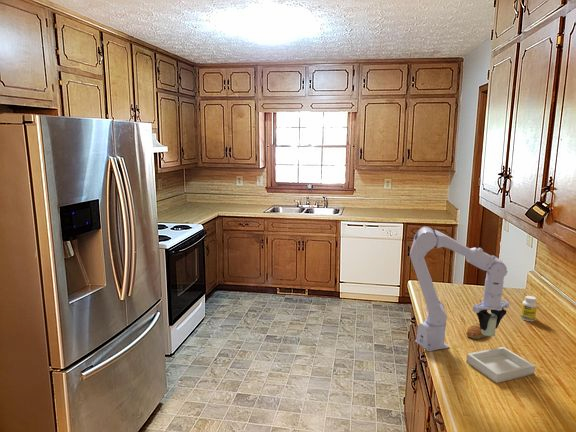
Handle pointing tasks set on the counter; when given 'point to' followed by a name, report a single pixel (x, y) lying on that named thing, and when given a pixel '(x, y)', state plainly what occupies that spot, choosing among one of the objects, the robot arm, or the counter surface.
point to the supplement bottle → (529, 308)
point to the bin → (500, 364)
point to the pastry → (475, 331)
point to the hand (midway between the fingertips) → (488, 328)
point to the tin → (490, 326)
